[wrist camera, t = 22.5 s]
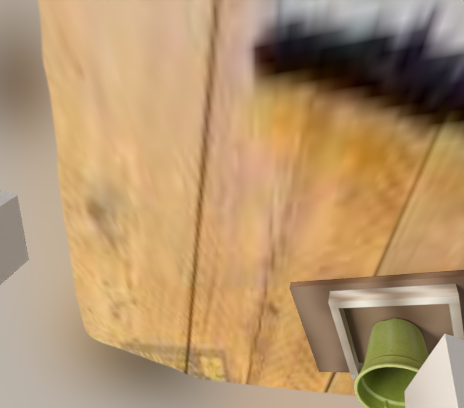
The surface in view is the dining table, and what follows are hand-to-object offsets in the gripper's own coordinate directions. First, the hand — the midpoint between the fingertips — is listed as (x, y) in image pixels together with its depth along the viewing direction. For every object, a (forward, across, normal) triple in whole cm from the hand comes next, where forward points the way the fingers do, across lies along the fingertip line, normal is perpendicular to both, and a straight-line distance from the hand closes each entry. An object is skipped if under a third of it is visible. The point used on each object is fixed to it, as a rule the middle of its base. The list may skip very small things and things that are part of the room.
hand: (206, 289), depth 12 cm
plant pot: (+31, +18, -30) cm, 47 cm away
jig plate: (+32, +18, -29) cm, 47 cm away
